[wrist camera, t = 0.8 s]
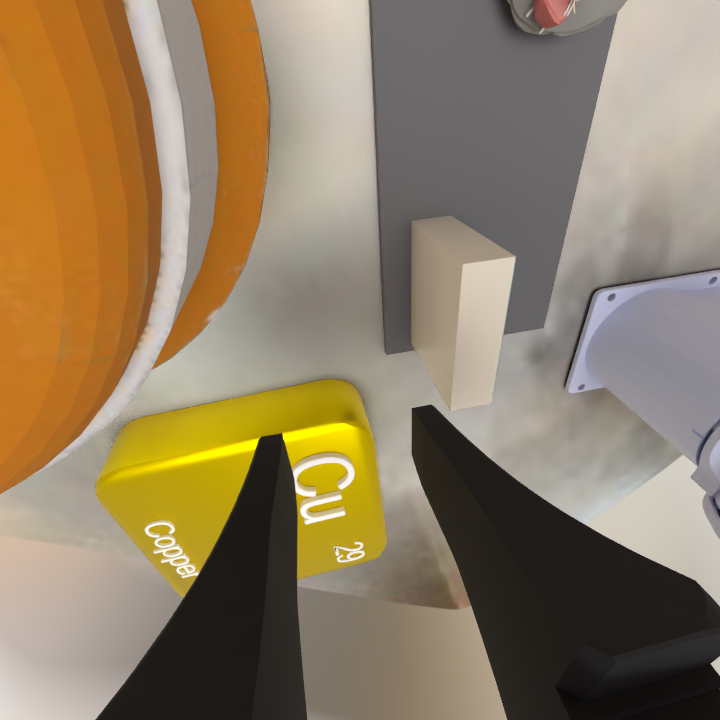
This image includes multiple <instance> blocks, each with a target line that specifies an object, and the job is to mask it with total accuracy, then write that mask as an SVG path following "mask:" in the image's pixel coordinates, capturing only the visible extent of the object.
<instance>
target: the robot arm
mask: <svg viewBox="0 0 720 720" xmlns="http://www.w3.org/2000/svg"><path fill="white" fill-rule="evenodd" d="M610 294H611V295H610ZM609 295H610V296H609ZM604 387H605V388H606V389H607V390H609V391H610V392H611V393H612V394H613V395H614V396H616V397H617V398H618V399H619V400H620V401H621V402H623V403H624V404H625V405H626V406H627V407H628V408H630V409H631V410H632V411H633V412H634V413H635V414H637V415H638V416H639V417H640V418H641V419H642V420H644V421H645V422H646V423H647V424H648V425H650V426H651V427H652V428H653V429H654V430H655V431H657V432H658V433H659V434H660V435H661V436H662V437H664V438H665V439H666V440H667V441H668V442H669V443H671V444H672V445H673V446H674V447H675V448H676V449H678V450H679V451H680V452H681V453H682V454H683V455H685V456H686V457H687V458H688V459H689V460H690V461H692V462H693V463H694V464H695V465H696V466H698V468H697V469H696V471H695V472H694V473H693V474H692V475H691V478H692V480H694V481H695V482H696V483H697V484H698V485H699V486H700V487H701V488H703V489H704V490H705V491H706V492H707V493H706V495H705V496H704V498H703V509H704V511H705V514H706V516H707V518H708V520H709V522H710V524H711V526H712V528H713V530H714V531H715V533H716V534H717V536H718V537H719V539H720V270H714V271H708V272H702V273H696V274H689V275H683V276H677V277H671V278H665V279H659V280H652V281H646V282H640V283H634V284H628V285H622V286H616V287H609V288H603V289H600V290H598V291H597V292H596V293H595V294H594V296H593V298H592V301H591V305H590V308H589V311H588V314H587V318H586V321H585V324H584V328H583V331H582V334H581V337H580V341H579V344H578V347H577V351H576V354H575V357H574V360H573V364H572V367H571V370H570V374H569V377H568V380H567V383H566V387H565V389H566V391H568V392H569V393H570V394H572V393H578V392H583V391H588V390H593V389H598V388H604ZM412 457H413V460H414V463H415V466H416V470H417V473H418V476H419V479H420V482H421V485H422V487H423V489H424V492H425V494H426V496H427V498H428V501H429V503H430V505H431V507H432V510H433V512H434V514H435V516H436V518H437V521H438V523H439V525H440V527H441V529H442V532H443V534H444V536H445V538H446V540H447V543H448V545H449V547H450V549H451V551H452V554H453V556H454V559H455V561H456V564H457V566H458V569H459V571H460V574H461V577H462V580H463V583H464V586H465V589H466V592H467V594H468V597H469V600H470V603H471V606H472V609H473V612H474V615H475V618H476V621H477V624H478V627H479V630H480V633H481V636H482V639H483V642H484V645H485V648H486V652H487V655H488V658H489V661H490V664H491V667H492V670H493V674H494V677H495V680H496V683H497V687H498V690H499V693H500V697H501V700H502V703H503V707H504V710H505V713H506V717H507V720H720V676H719V675H718V673H717V672H716V671H715V669H714V668H713V667H712V665H711V664H710V663H712V662H713V661H714V660H715V659H717V658H718V657H719V656H720V606H719V605H718V604H717V603H716V602H715V601H714V599H713V598H712V597H711V596H710V595H709V594H708V593H707V592H706V591H705V590H704V589H703V588H702V587H701V586H700V585H699V584H698V583H697V582H696V581H695V580H693V579H691V578H689V577H686V576H684V575H682V574H680V573H678V572H676V571H673V570H671V569H669V568H667V567H665V566H663V565H661V564H659V563H657V562H654V561H652V560H650V559H648V558H646V557H644V556H642V555H640V554H638V553H636V552H634V551H632V550H630V549H628V548H626V547H624V546H622V545H620V544H618V543H616V542H615V541H613V540H611V539H609V538H607V537H605V536H603V535H602V534H600V533H598V532H596V531H595V530H593V529H591V528H590V527H588V526H586V525H585V524H583V523H581V522H579V521H578V520H576V519H574V518H573V517H571V516H569V515H568V514H566V513H564V512H563V511H561V510H560V509H558V508H556V507H555V506H553V505H552V504H550V503H549V502H547V501H546V500H544V499H543V498H541V497H540V496H538V495H537V494H536V493H534V492H533V491H531V490H530V489H528V488H527V487H526V486H524V485H523V484H521V483H520V482H519V481H517V480H516V479H515V478H513V477H512V476H511V475H510V474H508V473H507V472H506V471H505V470H503V469H502V468H501V467H499V466H498V465H497V464H496V463H495V462H493V461H492V460H491V459H490V458H489V457H487V456H486V455H485V454H484V453H483V452H482V451H481V450H479V449H478V448H477V447H476V446H475V445H474V444H473V443H471V442H470V441H469V440H468V439H467V438H466V437H465V436H464V435H463V434H462V433H461V432H460V431H458V430H457V429H456V428H455V427H454V426H453V425H452V424H451V423H450V422H449V421H448V420H447V419H446V418H445V417H444V416H443V415H442V414H441V413H440V412H439V411H438V410H437V409H436V408H435V407H434V406H433V405H426V406H421V407H416V408H412ZM297 534H298V510H297V500H296V490H295V480H294V475H293V471H292V468H291V464H290V460H289V457H288V453H287V449H286V446H285V442H284V438H283V435H282V433H279V434H274V435H269V436H263V437H261V438H260V439H259V440H258V442H257V446H256V449H255V452H254V456H253V459H252V462H251V464H250V467H249V470H248V473H247V475H246V478H245V481H244V483H243V485H242V488H241V490H240V493H239V495H238V497H237V500H236V502H235V504H234V507H233V509H232V511H231V513H230V515H229V517H228V519H227V521H226V523H225V525H224V528H223V530H222V532H221V534H220V536H219V538H218V540H217V542H216V543H215V545H214V547H213V549H212V551H211V553H210V555H209V557H208V558H207V560H206V562H205V564H204V565H203V567H202V569H201V571H200V572H199V574H198V576H197V577H196V579H195V581H194V582H193V584H192V586H191V587H190V589H189V590H188V592H187V594H186V595H185V597H184V598H183V600H182V602H181V603H180V605H179V606H178V608H177V610H176V611H175V613H174V614H173V616H172V617H171V619H170V620H169V622H168V623H167V625H166V626H165V628H164V629H163V630H162V632H161V633H160V635H159V636H158V637H157V639H156V640H155V642H154V643H153V644H152V646H151V647H150V649H149V650H148V652H147V653H146V654H145V656H144V657H143V659H142V660H141V661H140V663H139V664H138V666H137V667H136V668H135V670H134V671H133V672H132V674H131V675H130V676H129V678H128V679H127V680H126V682H125V683H124V684H123V686H122V687H121V688H120V689H119V691H118V692H117V693H116V694H115V696H114V697H113V698H112V700H111V701H110V702H109V703H108V705H107V706H106V707H105V708H104V710H103V711H102V712H101V713H100V715H99V716H98V717H97V719H96V720H307V713H306V703H305V692H304V680H303V670H302V657H301V645H300V632H299V619H298V608H297V607H298V605H297Z"/></svg>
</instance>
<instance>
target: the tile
mask: <svg viewBox="0 0 720 720" xmlns="http://www.w3.org/2000/svg"><path fill="white" fill-rule="evenodd" d="M515 258H516V256H514V255H513V254H511V253H510V252H508V251H506V250H505V249H503V248H502V247H500V246H498V245H497V244H495V243H494V242H492V241H491V240H489V239H487V238H486V237H484V236H483V235H481V234H480V233H478V232H476V231H475V230H473V229H472V228H470V227H468V226H467V225H465V224H464V223H462V222H461V221H459V220H457V219H456V218H454V217H453V216H444V217H437V218H429V219H422V220H414V221H412V236H411V344H412V346H413V348H414V349H415V351H416V353H417V355H418V356H419V358H420V360H421V361H422V363H423V365H424V367H425V368H426V370H427V372H428V374H429V375H430V377H431V379H432V381H433V382H434V384H435V386H436V387H437V389H438V391H439V393H440V394H441V396H442V398H443V400H444V401H445V403H446V405H447V406H448V408H449V410H450V411H455V410H460V409H465V408H470V407H476V406H481V405H486V404H491V403H492V397H493V394H494V388H495V382H496V376H497V370H498V364H499V358H500V352H501V346H502V340H503V334H504V328H505V322H506V316H507V310H508V304H509V298H510V292H511V286H512V280H513V274H514V268H515V262H516V259H515Z"/></svg>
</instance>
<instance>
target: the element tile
mask: <svg viewBox="0 0 720 720" xmlns="http://www.w3.org/2000/svg"><path fill="white" fill-rule="evenodd" d="M279 433H282V435H283V438H284V442H285V446H286V449H287V453H288V457H289V460H290V464H291V468H292V471H293V475H294V480H295V490H296V500H297V510H298V534H297V580H298V579H302V578H306V577H310V576H314V575H318V574H322V573H326V572H329V571H333V570H337V569H341V568H345V567H349V566H353V565H357V564H361V563H364V562H367V561H370V560H373V559H376V558H378V557H379V556H380V554H381V553H382V552H383V550H384V548H385V546H386V542H387V537H386V529H385V521H384V513H383V506H382V498H381V490H380V482H379V474H378V466H377V459H376V451H375V443H374V438H373V434H372V431H371V428H370V425H369V421H368V418H367V415H366V412H365V408H364V405H363V402H362V399H361V396H360V393H359V392H358V390H357V389H356V388H355V386H354V385H352V384H350V383H348V382H346V381H344V380H336V379H325V380H320V381H315V382H310V383H305V384H300V385H295V386H291V387H286V388H281V389H276V390H271V391H266V392H262V393H257V394H252V395H247V396H242V397H237V398H233V399H228V400H223V401H218V402H213V403H208V404H203V405H199V406H194V407H189V408H184V409H179V410H174V411H170V412H165V413H160V414H155V415H150V416H145V417H141V418H138V419H136V420H133V421H131V422H129V423H128V424H126V425H125V426H123V427H122V429H121V430H120V432H119V434H118V435H117V438H116V440H115V442H114V444H113V446H112V449H111V451H110V453H109V455H108V457H107V459H106V462H105V464H104V466H103V468H102V470H101V473H100V475H99V477H98V479H97V481H96V483H95V488H96V496H97V498H98V500H99V501H100V503H101V504H102V506H103V507H104V508H105V509H106V510H107V511H108V513H109V514H110V515H111V516H112V517H113V518H114V520H115V521H116V522H117V523H118V524H119V525H120V527H121V528H122V529H123V530H124V531H125V532H126V534H127V535H128V536H129V537H130V538H131V539H132V541H133V542H134V543H135V544H136V545H137V547H138V548H139V549H140V550H141V551H142V552H143V554H144V555H145V556H146V557H147V558H148V559H149V561H150V562H151V563H152V564H153V565H154V566H155V568H156V569H157V570H158V571H159V572H160V573H161V575H162V576H163V577H164V578H165V579H166V580H167V582H168V583H169V584H170V585H171V586H172V587H173V588H174V590H175V591H176V592H177V593H178V594H179V595H180V596H182V597H183V598H184V597H185V595H186V594H187V592H188V590H189V589H190V587H191V586H192V584H193V582H194V581H195V579H196V577H197V576H198V574H199V572H200V571H201V569H202V567H203V565H204V564H205V562H206V560H207V558H208V557H209V555H210V553H211V551H212V549H213V547H214V545H215V543H216V542H217V540H218V538H219V536H220V534H221V532H222V530H223V528H224V525H225V523H226V521H227V519H228V517H229V515H230V513H231V511H232V509H233V507H234V504H235V502H236V500H237V497H238V495H239V493H240V490H241V488H242V485H243V483H244V481H245V478H246V475H247V473H248V470H249V467H250V464H251V462H252V459H253V456H254V452H255V449H256V446H257V442H258V440H259V439H260V438H261V437H263V436H269V435H274V434H279Z"/></svg>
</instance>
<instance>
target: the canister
mask: <svg viewBox="0 0 720 720" xmlns="http://www.w3.org/2000/svg"><path fill="white" fill-rule="evenodd" d="M269 138H270V96H269V88H268V80H267V75H266V70H265V64H264V59H263V53H262V48H261V43H260V37H259V32H258V28H257V24H256V20H255V16H254V12H253V8H252V4H251V0H0V494H1V493H3V492H4V491H6V490H8V489H10V488H11V487H13V486H15V485H16V484H18V483H20V482H21V481H23V480H25V479H26V478H28V477H30V476H32V475H35V474H37V473H39V472H40V471H42V470H44V469H45V468H47V467H49V466H51V465H52V464H54V463H56V462H57V461H59V460H61V459H62V458H64V457H66V456H68V455H69V454H71V453H73V452H74V451H76V450H78V449H80V448H81V447H82V446H83V445H84V444H86V443H87V442H88V441H89V440H90V439H91V438H93V437H94V436H95V435H96V434H97V433H98V432H100V431H101V430H102V429H103V428H104V427H105V426H107V425H108V424H109V423H110V422H111V421H112V420H114V419H115V418H116V417H117V416H118V415H119V413H120V412H121V411H122V410H123V408H124V407H125V406H126V405H127V403H128V402H129V401H130V399H131V398H132V397H133V396H134V394H135V393H136V392H137V391H138V389H139V388H140V387H141V385H142V384H143V383H144V382H145V380H146V379H147V378H148V376H149V374H150V372H151V370H153V369H154V368H156V367H158V366H159V365H161V364H163V363H164V362H166V361H168V360H169V359H171V358H172V357H173V356H174V355H176V354H177V353H178V352H179V351H180V350H181V349H183V348H184V347H185V346H186V345H187V344H188V343H190V342H191V341H192V340H193V339H194V338H195V337H196V336H198V335H199V334H200V333H201V332H202V330H203V329H204V328H205V327H206V326H207V324H208V323H209V322H210V321H211V319H212V318H213V317H214V316H215V314H216V313H217V312H218V311H219V309H220V308H221V307H222V306H223V304H224V303H225V302H226V300H227V298H228V296H229V294H230V292H231V291H232V289H233V287H234V285H235V283H236V281H237V280H238V278H239V276H240V274H241V272H242V270H243V268H244V267H245V264H246V261H247V258H248V255H249V252H250V249H251V246H252V243H253V240H254V237H255V234H256V231H257V228H258V225H259V222H260V216H261V210H262V203H263V197H264V190H265V184H266V177H267V171H268V156H269Z"/></svg>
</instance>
